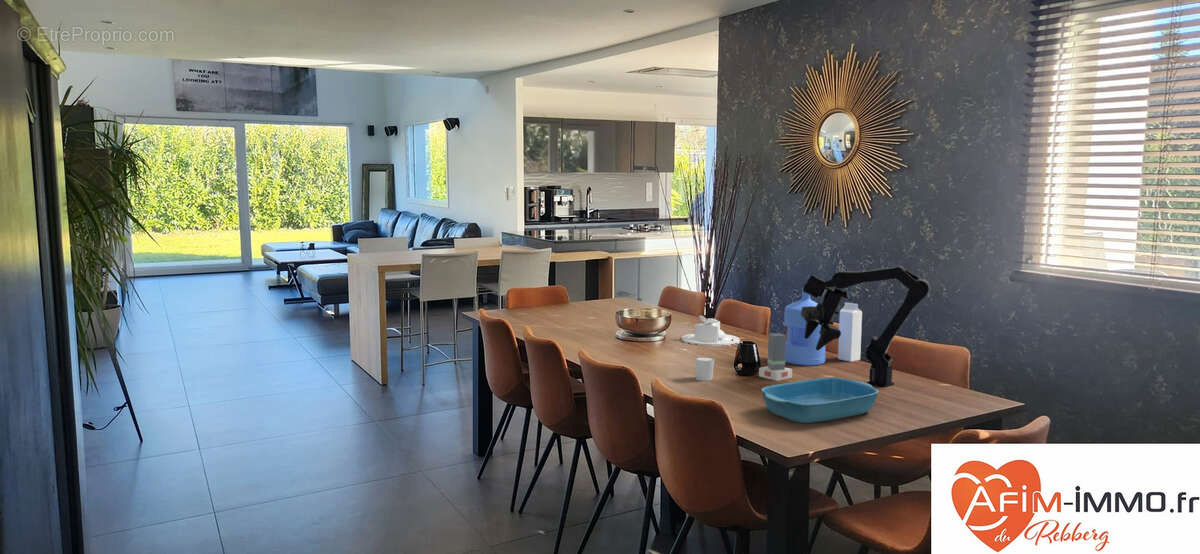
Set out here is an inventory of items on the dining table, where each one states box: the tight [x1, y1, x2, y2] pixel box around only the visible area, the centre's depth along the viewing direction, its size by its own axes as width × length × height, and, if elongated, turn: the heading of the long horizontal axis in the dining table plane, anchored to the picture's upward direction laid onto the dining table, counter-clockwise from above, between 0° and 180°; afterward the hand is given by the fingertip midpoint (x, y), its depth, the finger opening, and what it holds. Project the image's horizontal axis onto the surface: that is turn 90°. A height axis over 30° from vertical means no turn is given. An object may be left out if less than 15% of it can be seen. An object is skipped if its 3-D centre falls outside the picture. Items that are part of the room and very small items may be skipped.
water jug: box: [783, 287, 826, 367], centre depth 308 cm, size 16×16×28 cm
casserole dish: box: [761, 377, 879, 424], centre depth 242 cm, size 37×22×7 cm, turn 118°
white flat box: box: [758, 365, 793, 382], centre depth 285 cm, size 8×8×3 cm
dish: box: [681, 315, 741, 347], centre depth 350 cm, size 25×25×11 cm
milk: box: [837, 302, 863, 363], centre depth 312 cm, size 6×6×22 cm
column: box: [767, 332, 787, 370], centre depth 284 cm, size 5×5×12 cm
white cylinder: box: [694, 356, 715, 382], centre depth 281 cm, size 7×7×7 cm
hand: (811, 344), depth 285 cm, fingers open, 9 cm apart
